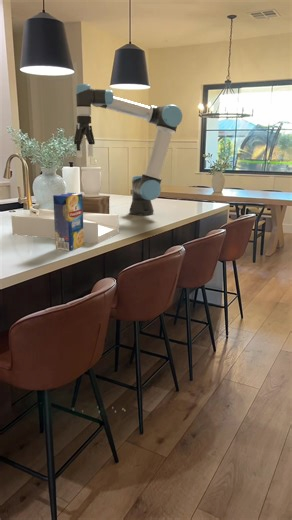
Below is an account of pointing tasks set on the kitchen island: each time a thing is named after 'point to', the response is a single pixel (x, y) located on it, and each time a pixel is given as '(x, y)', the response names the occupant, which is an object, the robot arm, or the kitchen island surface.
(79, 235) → the blue cardboard box
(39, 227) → the white open tray
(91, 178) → the jar
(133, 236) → the kitchen island surface
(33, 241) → the kitchen island surface
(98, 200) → the walnut block
